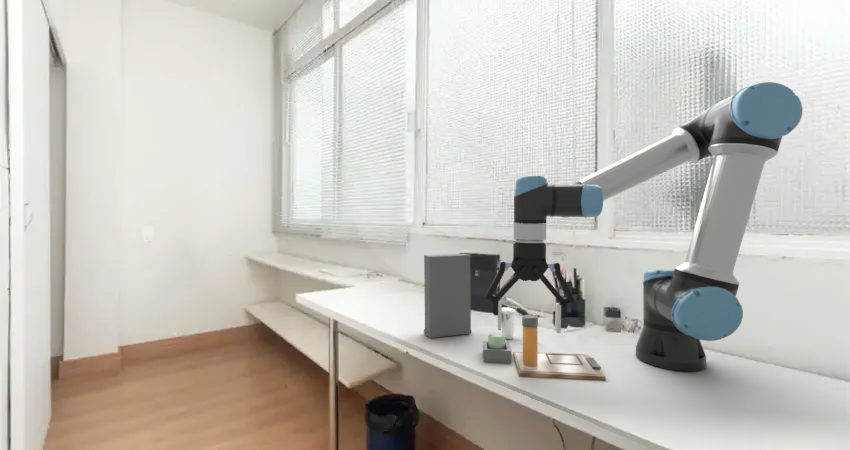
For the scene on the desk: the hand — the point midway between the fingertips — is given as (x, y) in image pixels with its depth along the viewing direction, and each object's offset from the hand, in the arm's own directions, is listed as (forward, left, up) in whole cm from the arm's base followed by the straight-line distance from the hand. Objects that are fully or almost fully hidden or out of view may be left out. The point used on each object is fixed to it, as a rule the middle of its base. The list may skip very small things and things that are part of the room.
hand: (528, 330), depth 92 cm
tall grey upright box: (+22, -27, -10) cm, 36 cm away
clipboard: (-7, -3, -10) cm, 12 cm away
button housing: (+7, -8, -10) cm, 14 cm away
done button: (+7, -8, -8) cm, 13 cm away
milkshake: (+3, -25, -10) cm, 27 cm away
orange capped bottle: (0, 0, -9) cm, 9 cm away
